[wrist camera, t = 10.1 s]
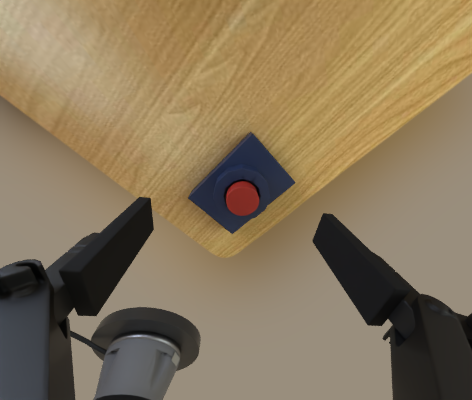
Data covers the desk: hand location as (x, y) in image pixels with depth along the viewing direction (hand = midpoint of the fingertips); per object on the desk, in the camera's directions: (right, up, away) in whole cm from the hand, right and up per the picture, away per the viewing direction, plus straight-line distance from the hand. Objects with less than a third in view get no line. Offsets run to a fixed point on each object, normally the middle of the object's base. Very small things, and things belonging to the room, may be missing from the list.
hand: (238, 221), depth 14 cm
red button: (+1, +2, +7) cm, 7 cm away
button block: (0, +4, +10) cm, 11 cm away
